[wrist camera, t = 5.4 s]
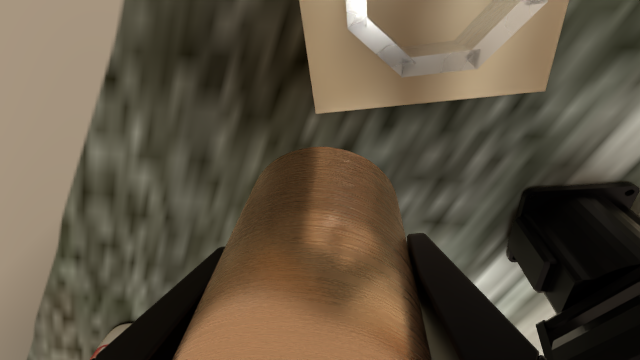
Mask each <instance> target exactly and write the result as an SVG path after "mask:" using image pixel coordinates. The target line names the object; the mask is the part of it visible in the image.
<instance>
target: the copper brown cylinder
mask: <svg viewBox="0 0 640 360" xmlns="http://www.w3.org/2000/svg"><path fill="white" fill-rule="evenodd" d="M172 360H432V358H431V353H430V349H429V344H428V339H427V335H426V330H425V325H424V321H423V316H422V311H421V307H420V302H419V298H418V293H417V288H416V284H415V279H414V274H413V270H412V265H411V260H410V256H409V251H408V246H407V242H406V237H405V232H404V228H403V223H402V219H401V214H400V209H399V205H398V200H397V196H396V193H395V190H394V188H393V186H392V184H391V182H390V181H389V179H388V178H387V176H386V175H385V174H384V173H383V172H382V171H381V170H380V169H379V168H378V167H377V166H376V165H374V164H373V163H372V162H370V161H369V160H367V159H365V158H364V157H362V156H359V155H357V154H355V153H353V152H349V151H346V150H343V149H337V148H332V147H310V148H304V149H299V150H296V151H293V152H290V153H288V154H285V155H283V156H281V157H279V158H278V159H276V160H275V161H273V162H272V163H271V164H270V165H269V166H267V167H266V168H265V170H264V171H263V172H262V173H261V174H260V176H259V178H258V179H257V181H256V183H255V185H254V187H253V190H252V192H251V194H250V196H249V198H248V200H247V202H246V204H245V207H244V209H243V211H242V213H241V215H240V217H239V219H238V221H237V224H236V226H235V228H234V230H233V232H232V234H231V236H230V238H229V241H228V243H227V245H226V247H225V249H224V251H223V253H222V255H221V258H220V260H219V262H218V264H217V266H216V268H215V270H214V272H213V275H212V277H211V279H210V281H209V283H208V285H207V287H206V289H205V291H204V294H203V296H202V298H201V300H200V302H199V304H198V306H197V308H196V311H195V313H194V315H193V317H192V319H191V321H190V323H189V325H188V328H187V330H186V332H185V334H184V336H183V338H182V340H181V342H180V345H179V347H178V349H177V351H176V353H175V355H174V357H173V359H172Z"/></svg>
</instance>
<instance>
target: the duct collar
mask: <svg viewBox="0 0 640 360" xmlns="http://www.w3.org/2000/svg"><path fill="white" fill-rule="evenodd" d="M547 2H548V0H492V1H491V2H490V3H489V5H488V6H487V7H486V8H485V9H484V10H483V11H482V12H481V13H480V14H479V15H478V16H477V17H476V18H475V19H474V20H473V21H472V22H471V23H470V24H469V26H468V27H467V28H466V29H465V30H464V31H463V32H462V33H461V34H460V35H459V36H458V37H457V38H456V39H455V40H453V41H445V42H437V43H429V44H421V45H413V46H405V47H401V46H400V45H399V44H398V43H397V42H396V41H395V40H394V39H393V38H392V37H391V36H390V35H389V34H387V33H386V32H385V31H384V30H383V29H382V28H381V27H380V26H379V25H378V24H377V23H376V22H374V21H373V20H372V19H371V18H370V17H369V16H368V15H367V10H366V0H346V12H347V29H348V30H349V31H351V32H352V33H353V34H354V35H355V36H356V37H357V38H358V39H360V40H361V41H362V42H363V43H364V44H365V45H366V46H367V47H369V48H370V49H371V50H372V51H373V52H374V53H375V54H376V55H378V56H379V57H380V58H381V59H382V60H383V61H384V62H385V63H387V64H388V65H389V66H390V67H391V68H392V69H393V70H394V71H396V72H397V73H398V74H399V75H400V76H401V77H402V78H403V77H410V76H419V75H428V74H437V73H446V72H455V71H464V70H473V69H478V68H479V67H480V66H481V65H482V64H483V63H484V62H485V61H486V60H487V59H488V58H489V57H490V56H491V55H492V54H493V53H495V52H496V51H497V50H498V49H499V48H500V47H501V46H502V45H503V44H504V43H505V42H506V41H507V40H508V39H509V38H510V37H511V36H512V35H513V34H514V33H515V32H516V31H518V30H519V29H520V28H521V27H522V26H523V25H524V24H525V23H526V22H527V21H528V20H529V19H530V18H531V17H532V16H533V15H534V14H535V13H536V12H537V11H538V10H540V9H541V8H542V7H543V6H544V5H545V4H546V3H547Z"/></svg>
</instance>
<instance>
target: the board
mask: <svg viewBox="0 0 640 360" xmlns="http://www.w3.org/2000/svg"><path fill="white" fill-rule="evenodd" d="M491 1H492V0H366V10H367V15H368V16H369V17H370V18H371V19H372V20H373V21H374V22H376V23H377V24H378V25H379V26H380V27H381V28H382V29H383V30H384V31H385V32H386V33H387V34H389V35H390V36H391V37H392V38H393V39H394V40H395V41H396V42H397V43H398V44H399V45H400V46H401V47H405V46H413V45H421V44H429V43H437V42H445V41H453V40H455V39H456V38H457V37H458V36H459V35H460V34H461V33H462V32H463V31H464V30H465V29H466V28H467V27H468V26H469V24H470V23H471V22H472V21H473V20H474V19H475V18H476V17H477V16H478V15H479V14H480V13H481V12H482V11H483V10H484V9H485V8H486V7H487V6H488V5H489V3H490V2H491ZM299 2H300V9H301V16H302V22H303V29H304V36H305V43H306V50H307V57H308V63H309V70H310V77H311V84H312V91H313V98H314V104H315V111H316V114H318V113H328V112H339V111H349V110H359V109H369V108H379V107H389V106H399V105H409V104H419V103H429V102H439V101H450V100H460V99H470V98H480V97H490V96H500V95H510V94H520V93H530V92H540V91H545V90H546V86H547V82H548V78H549V74H550V71H551V67H552V63H553V59H554V55H555V51H556V48H557V44H558V40H559V36H560V32H561V28H562V25H563V21H564V17H565V13H566V9H567V6H568V2H569V0H548V2H547V3H546V4H545V5H544V6H543V7H542V8H541V9H540V10H538V11H537V12H536V13H535V14H534V15H533V16H532V17H531V18H530V19H529V20H528V21H527V22H526V23H525V24H524V25H523V26H522V27H521V28H520V29H519V30H518V31H516V32H515V33H514V34H513V35H512V36H511V37H510V38H509V39H508V40H507V41H506V42H505V43H504V44H503V45H502V46H501V47H500V48H499V49H498V50H497V51H496V52H495V53H493V54H492V55H491V56H490V57H489V58H488V59H487V60H486V61H485V62H484V63H483V64H482V65H481V66H480V67H479V68H478V69H473V70H464V71H455V72H446V73H437V74H428V75H419V76H410V77H403V78H402V77H401V76H400V75H399V74H398V73H397V72H396V71H394V70H393V69H392V68H391V67H390V66H389V65H388V64H387V63H385V62H384V61H383V60H382V59H381V58H380V57H379V56H378V55H376V54H375V53H374V52H373V51H372V50H371V49H370V48H369V47H367V46H366V45H365V44H364V43H363V42H362V41H361V40H360V39H358V38H357V37H356V36H355V35H354V34H353V33H352V32H351V31H349V30H348V29H347V12H346V0H299Z"/></svg>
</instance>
